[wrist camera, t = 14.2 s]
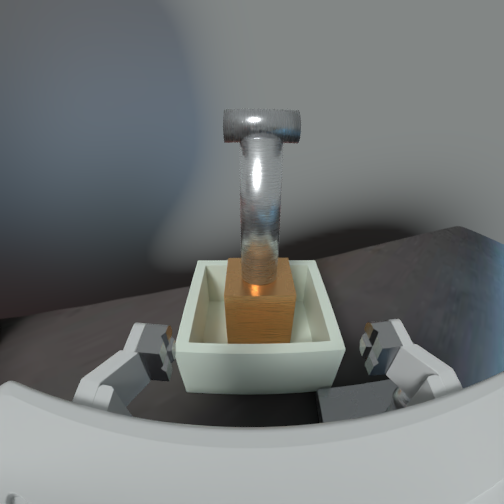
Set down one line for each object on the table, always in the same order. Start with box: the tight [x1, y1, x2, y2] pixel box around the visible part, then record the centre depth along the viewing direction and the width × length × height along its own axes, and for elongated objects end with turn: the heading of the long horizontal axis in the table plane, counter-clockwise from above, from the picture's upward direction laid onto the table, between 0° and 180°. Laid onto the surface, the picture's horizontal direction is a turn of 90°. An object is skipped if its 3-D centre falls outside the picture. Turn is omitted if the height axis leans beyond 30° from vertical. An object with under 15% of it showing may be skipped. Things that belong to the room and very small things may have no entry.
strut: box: [223, 109, 301, 344], centre depth 22 cm, size 6×6×21 cm
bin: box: [175, 260, 346, 394], centre depth 27 cm, size 13×13×6 cm
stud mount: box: [315, 379, 411, 423], centre depth 16 cm, size 10×10×8 cm
